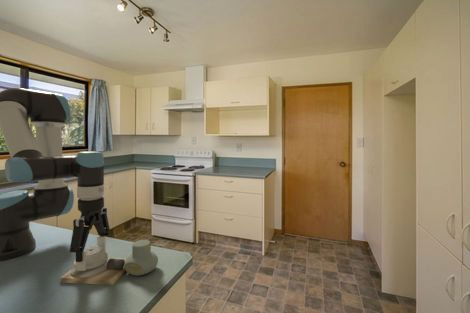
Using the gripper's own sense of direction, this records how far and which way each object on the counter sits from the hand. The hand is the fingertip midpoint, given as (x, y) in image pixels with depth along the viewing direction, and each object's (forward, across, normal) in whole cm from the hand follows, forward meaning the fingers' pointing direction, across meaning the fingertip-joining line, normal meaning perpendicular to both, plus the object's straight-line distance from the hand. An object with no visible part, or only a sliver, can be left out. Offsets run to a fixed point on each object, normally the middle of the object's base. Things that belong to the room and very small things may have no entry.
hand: (92, 261), depth 78 cm
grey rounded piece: (+4, +2, -16) cm, 17 cm away
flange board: (+4, 0, -3) cm, 4 cm away
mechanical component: (+1, 0, 0) cm, 1 cm away
